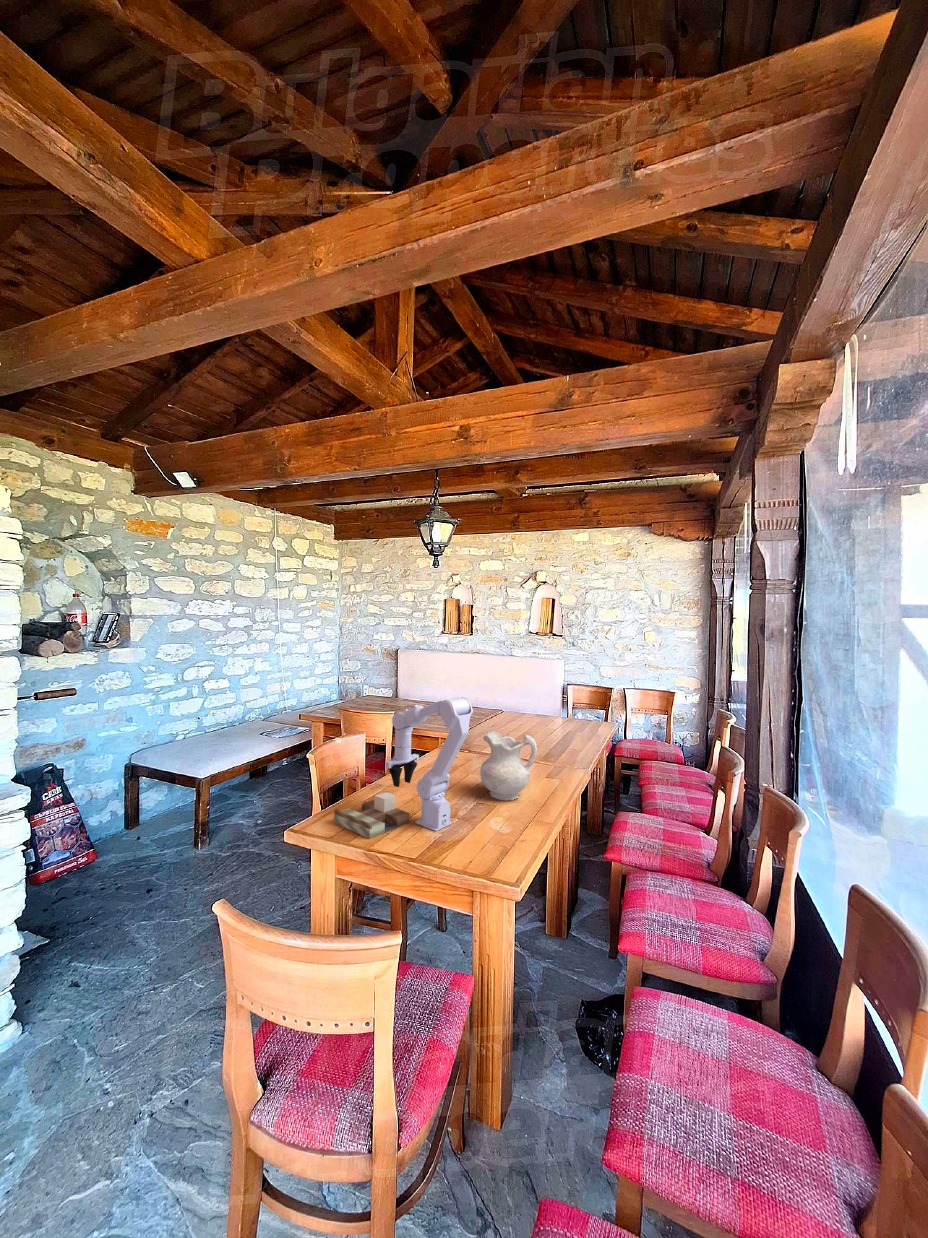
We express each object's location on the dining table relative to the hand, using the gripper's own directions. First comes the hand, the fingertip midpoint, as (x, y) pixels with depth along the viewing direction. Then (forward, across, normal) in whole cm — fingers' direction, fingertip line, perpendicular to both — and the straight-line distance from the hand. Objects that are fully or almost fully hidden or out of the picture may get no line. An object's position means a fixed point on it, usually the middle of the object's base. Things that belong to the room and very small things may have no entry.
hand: (401, 784), depth 172 cm
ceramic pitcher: (+10, -39, +19) cm, 44 cm away
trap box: (+9, +13, 0) cm, 16 cm away
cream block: (+6, +8, 0) cm, 10 cm away
